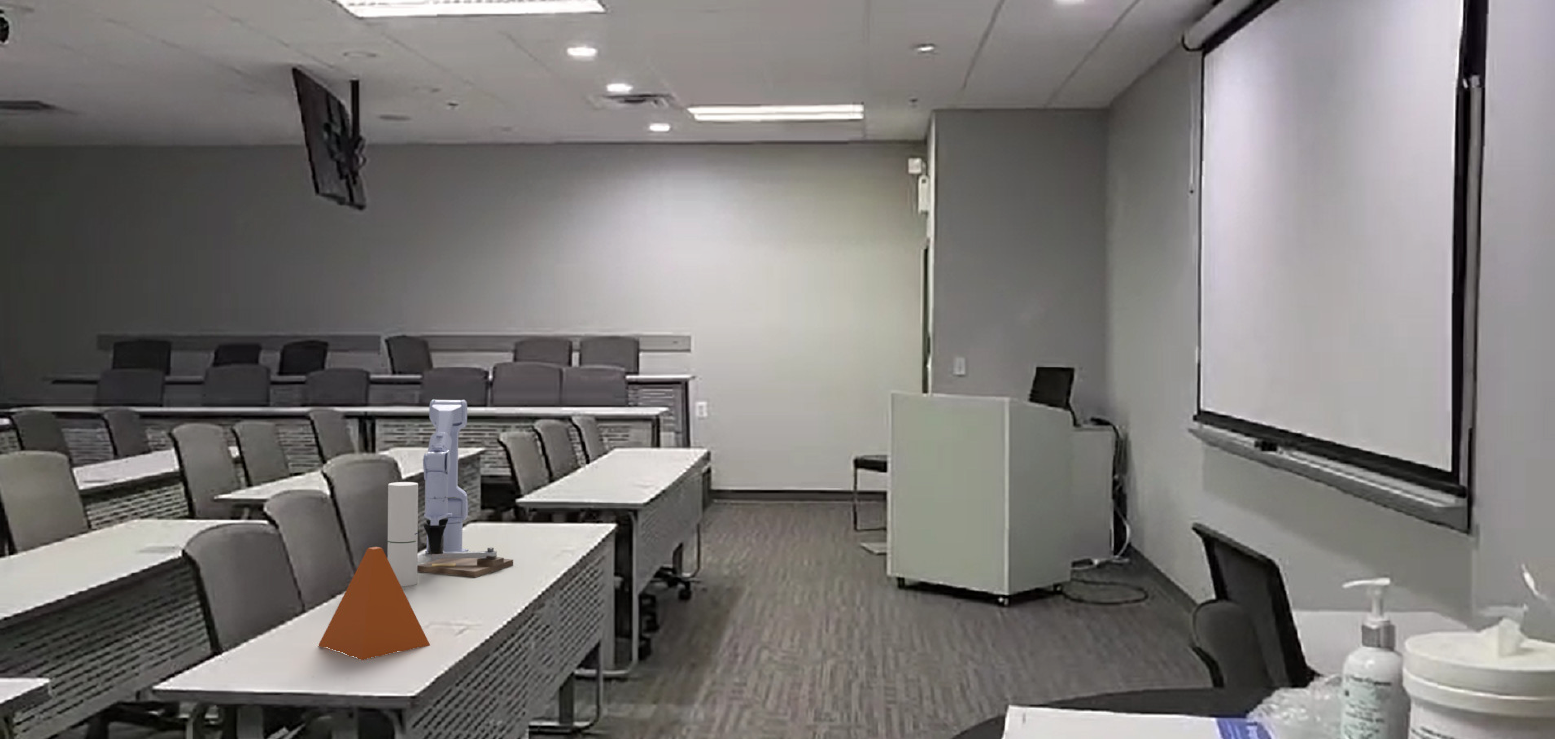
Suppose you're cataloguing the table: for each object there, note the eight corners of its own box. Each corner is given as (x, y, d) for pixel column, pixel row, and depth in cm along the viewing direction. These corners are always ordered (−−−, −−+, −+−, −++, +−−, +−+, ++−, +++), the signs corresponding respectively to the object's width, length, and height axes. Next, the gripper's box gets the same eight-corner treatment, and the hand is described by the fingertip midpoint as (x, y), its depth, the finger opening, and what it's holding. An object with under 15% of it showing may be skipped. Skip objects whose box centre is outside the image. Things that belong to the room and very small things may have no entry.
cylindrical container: (421, 581, 315) (422, 482, 314) (410, 586, 308) (411, 486, 307) (394, 579, 315) (395, 481, 315) (382, 585, 308) (383, 485, 307)
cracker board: (416, 571, 327) (416, 560, 327) (456, 559, 344) (456, 548, 344) (476, 577, 320) (477, 565, 320) (514, 565, 337) (514, 554, 337)
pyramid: (386, 632, 263) (386, 538, 262) (430, 645, 253) (431, 548, 252) (317, 646, 251) (318, 548, 250) (361, 661, 241) (362, 558, 240)
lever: (496, 555, 333) (497, 533, 333) (496, 558, 329) (496, 536, 329) (428, 556, 329) (428, 535, 329) (427, 559, 325) (427, 537, 325)
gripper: (450, 500, 321) (450, 553, 321) (453, 493, 335) (453, 543, 335) (422, 501, 319) (421, 553, 320) (426, 493, 334) (425, 543, 334)
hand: (435, 548), depth 328 cm, fingers open, 7 cm apart
